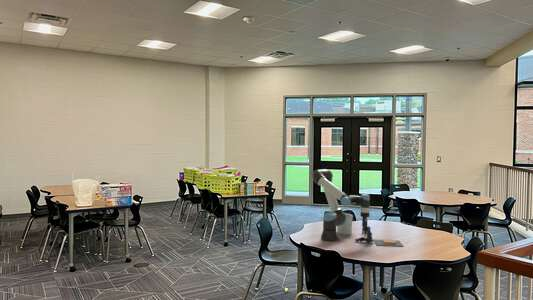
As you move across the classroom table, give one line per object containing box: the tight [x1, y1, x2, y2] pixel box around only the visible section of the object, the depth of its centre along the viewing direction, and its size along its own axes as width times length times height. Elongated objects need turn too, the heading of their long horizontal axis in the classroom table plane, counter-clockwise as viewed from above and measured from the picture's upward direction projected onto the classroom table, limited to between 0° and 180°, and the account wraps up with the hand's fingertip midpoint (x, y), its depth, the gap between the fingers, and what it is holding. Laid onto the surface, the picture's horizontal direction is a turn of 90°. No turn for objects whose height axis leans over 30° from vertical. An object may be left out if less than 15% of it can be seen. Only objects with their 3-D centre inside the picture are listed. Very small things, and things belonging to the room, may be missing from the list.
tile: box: [381, 238, 396, 244], centre depth 336 cm, size 2×10×10 cm
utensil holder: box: [336, 213, 354, 235], centre depth 374 cm, size 15×15×18 cm
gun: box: [354, 225, 375, 244], centre depth 339 cm, size 3×17×15 cm
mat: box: [373, 238, 404, 248], centre depth 336 cm, size 22×18×1 cm
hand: (364, 236), depth 339 cm, fingers open, 13 cm apart
